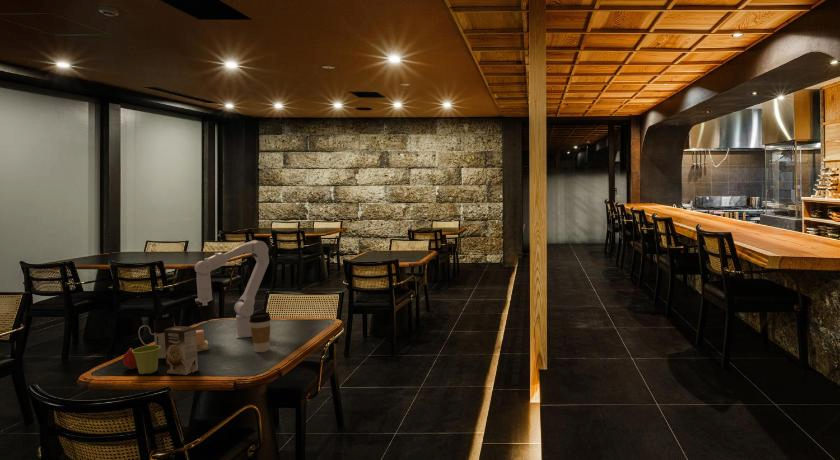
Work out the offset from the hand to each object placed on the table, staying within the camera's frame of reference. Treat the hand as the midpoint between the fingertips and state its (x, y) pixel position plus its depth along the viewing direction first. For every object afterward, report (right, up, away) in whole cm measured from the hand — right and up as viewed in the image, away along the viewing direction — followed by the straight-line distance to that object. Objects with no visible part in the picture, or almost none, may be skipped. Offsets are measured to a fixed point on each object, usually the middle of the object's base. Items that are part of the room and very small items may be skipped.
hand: (206, 319), depth 235 cm
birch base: (+1, -11, -10) cm, 15 cm away
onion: (-14, -13, -34) cm, 39 cm away
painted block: (+1, -8, -10) cm, 13 cm away
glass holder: (-11, -12, -19) cm, 25 cm away
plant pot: (-6, -13, -38) cm, 41 cm away
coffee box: (+7, -13, -39) cm, 42 cm away
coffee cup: (+29, -10, -15) cm, 34 cm away
